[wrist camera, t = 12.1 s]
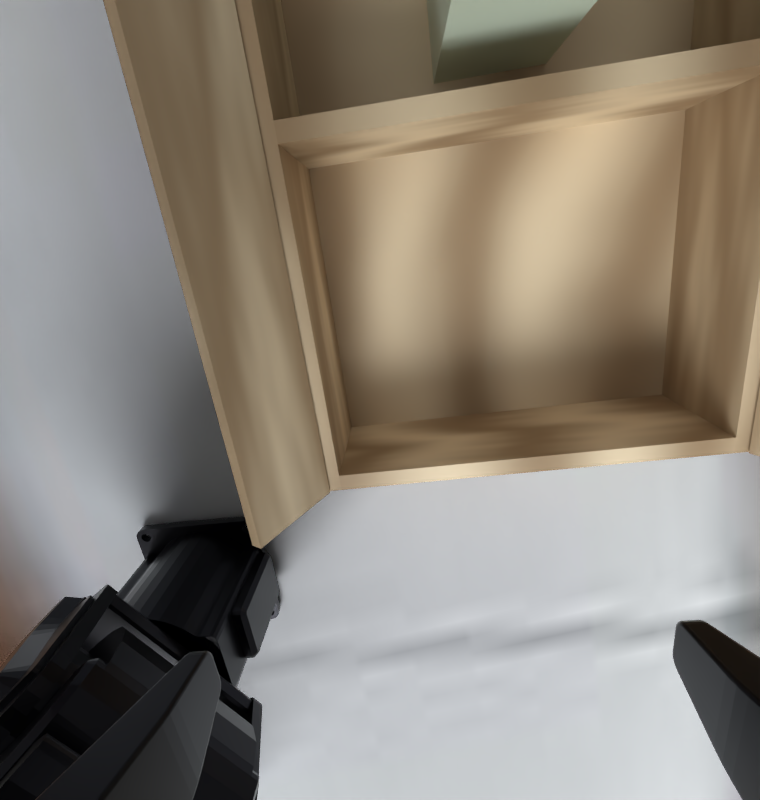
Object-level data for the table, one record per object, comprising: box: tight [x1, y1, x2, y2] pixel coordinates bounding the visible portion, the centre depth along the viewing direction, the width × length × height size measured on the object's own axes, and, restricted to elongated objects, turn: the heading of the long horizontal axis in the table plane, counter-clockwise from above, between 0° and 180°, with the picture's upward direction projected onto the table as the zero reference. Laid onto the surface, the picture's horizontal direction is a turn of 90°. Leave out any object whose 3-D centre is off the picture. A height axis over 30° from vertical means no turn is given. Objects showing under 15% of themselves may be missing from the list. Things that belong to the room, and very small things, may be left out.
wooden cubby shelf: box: [103, 0, 760, 549], centre depth 13 cm, size 19×24×8 cm
